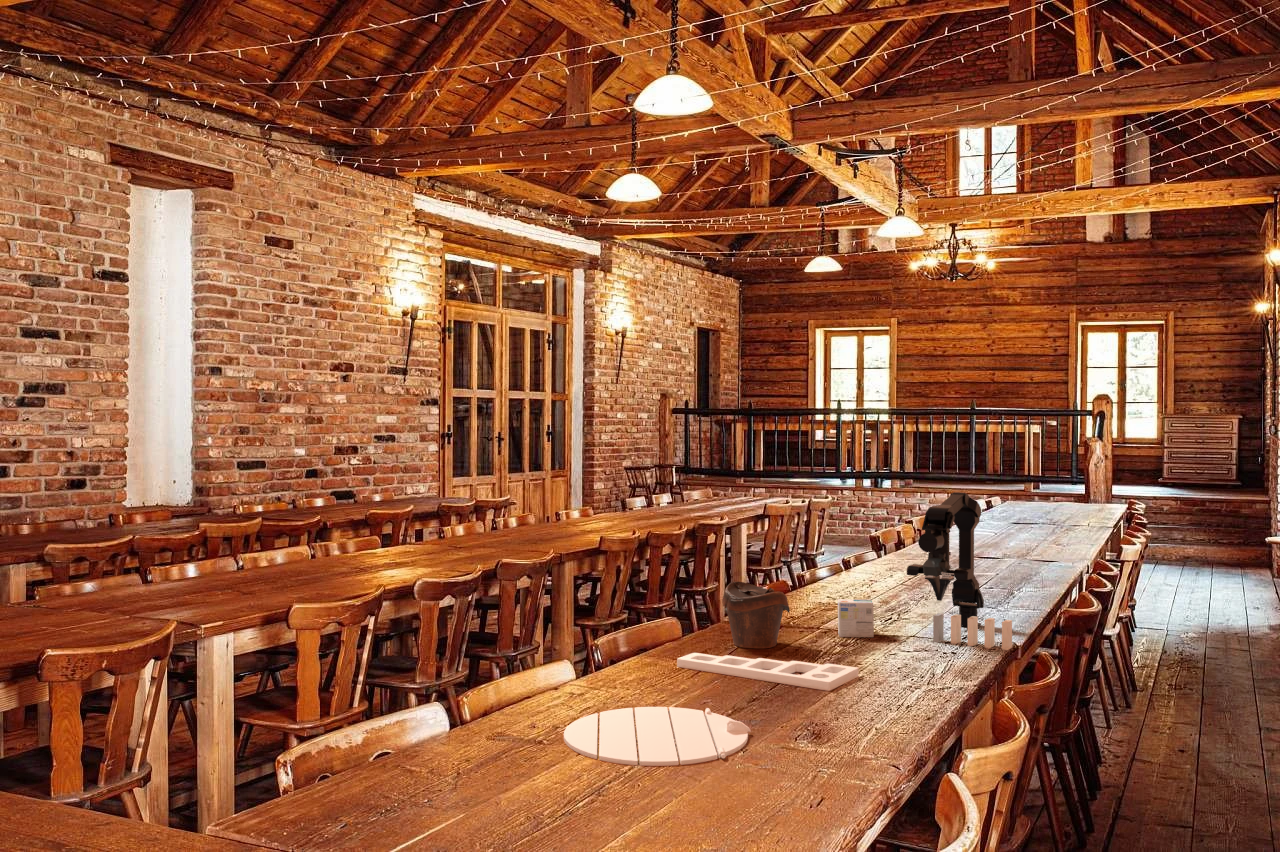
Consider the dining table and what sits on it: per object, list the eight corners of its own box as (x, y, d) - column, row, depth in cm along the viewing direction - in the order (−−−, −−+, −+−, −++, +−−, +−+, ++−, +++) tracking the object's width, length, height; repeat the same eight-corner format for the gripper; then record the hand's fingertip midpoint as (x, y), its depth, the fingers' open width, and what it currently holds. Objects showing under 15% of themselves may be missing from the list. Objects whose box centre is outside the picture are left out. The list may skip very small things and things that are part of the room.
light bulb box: (871, 633, 335) (871, 598, 335) (874, 637, 328) (874, 602, 328) (837, 632, 336) (837, 598, 336) (838, 637, 329) (838, 602, 329)
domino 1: (938, 639, 326) (938, 613, 326) (943, 640, 325) (943, 613, 325) (933, 641, 322) (933, 615, 322) (938, 642, 321) (938, 615, 321)
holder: (676, 668, 292) (676, 658, 292) (710, 656, 307) (710, 646, 306) (829, 693, 266) (829, 682, 266) (858, 678, 281) (858, 667, 281)
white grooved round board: (739, 710, 250) (739, 696, 250) (764, 766, 211) (764, 748, 211) (567, 712, 248) (567, 697, 248) (560, 768, 209) (559, 751, 209)
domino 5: (1006, 646, 315) (1006, 619, 315) (1011, 647, 314) (1011, 620, 314) (1001, 649, 311) (1001, 622, 311) (1007, 650, 310) (1007, 622, 310)
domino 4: (989, 644, 318) (989, 617, 318) (994, 645, 317) (994, 618, 317) (984, 647, 314) (984, 620, 314) (990, 648, 313) (990, 620, 313)
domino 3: (972, 642, 321) (972, 616, 321) (977, 643, 320) (977, 616, 320) (967, 645, 317) (967, 618, 317) (972, 646, 316) (973, 619, 316)
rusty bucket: (788, 652, 308) (787, 589, 308) (718, 649, 312) (718, 588, 312) (791, 640, 326) (791, 581, 326) (726, 638, 330) (725, 579, 330)
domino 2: (955, 640, 324) (955, 614, 323) (960, 641, 323) (961, 614, 323) (950, 643, 320) (950, 616, 320) (956, 644, 319) (956, 617, 319)
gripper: (899, 549, 323) (899, 601, 323) (961, 554, 312) (961, 607, 312) (913, 545, 332) (913, 596, 332) (973, 550, 321) (973, 602, 321)
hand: (939, 600), depth 324 cm, fingers closed
